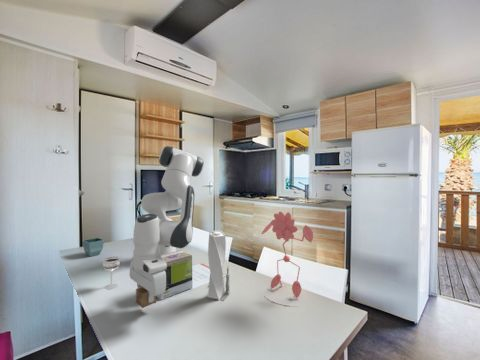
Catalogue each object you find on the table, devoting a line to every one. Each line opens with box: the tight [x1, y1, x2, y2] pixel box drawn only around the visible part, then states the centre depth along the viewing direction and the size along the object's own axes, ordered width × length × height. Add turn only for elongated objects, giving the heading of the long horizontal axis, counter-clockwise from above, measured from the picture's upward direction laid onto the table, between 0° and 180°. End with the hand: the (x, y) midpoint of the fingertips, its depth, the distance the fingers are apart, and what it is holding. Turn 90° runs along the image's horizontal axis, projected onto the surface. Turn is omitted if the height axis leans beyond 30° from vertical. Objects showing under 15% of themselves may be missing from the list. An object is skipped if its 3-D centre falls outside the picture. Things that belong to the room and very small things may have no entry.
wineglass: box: [102, 256, 121, 290], centre depth 106 cm, size 7×7×12 cm
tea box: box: [156, 250, 193, 300], centre depth 104 cm, size 15×10×15 cm, turn 134°
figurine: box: [261, 211, 314, 307], centre depth 100 cm, size 15×26×35 cm, turn 45°
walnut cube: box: [135, 287, 157, 309], centre depth 88 cm, size 5×5×5 cm
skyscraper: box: [207, 230, 231, 302], centre depth 99 cm, size 8×8×28 cm
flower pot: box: [82, 237, 105, 257], centre depth 147 cm, size 9×9×9 cm
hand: (146, 297), depth 88 cm, fingers closed on walnut cube, 5 cm apart
